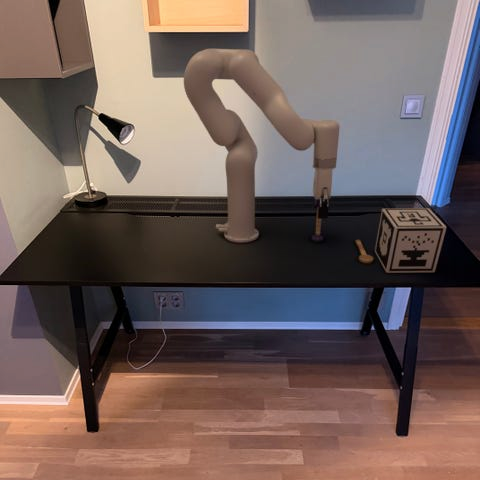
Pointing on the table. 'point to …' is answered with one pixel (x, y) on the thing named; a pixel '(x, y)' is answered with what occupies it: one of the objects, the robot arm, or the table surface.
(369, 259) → the wooden spoon
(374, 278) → the table surface
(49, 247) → the table surface
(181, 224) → the table surface
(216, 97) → the robot arm
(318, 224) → the toy lamp
